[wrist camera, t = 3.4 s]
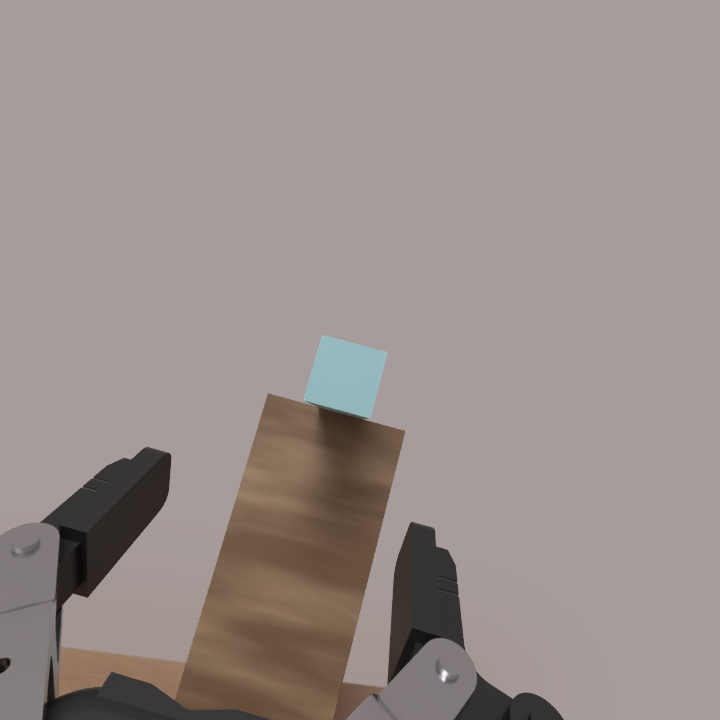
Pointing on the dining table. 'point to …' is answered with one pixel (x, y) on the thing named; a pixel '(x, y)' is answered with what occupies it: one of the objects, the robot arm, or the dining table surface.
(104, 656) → the dining table surface
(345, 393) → the rail
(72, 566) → the robot arm
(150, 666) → the dining table surface
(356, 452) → the pedestal
